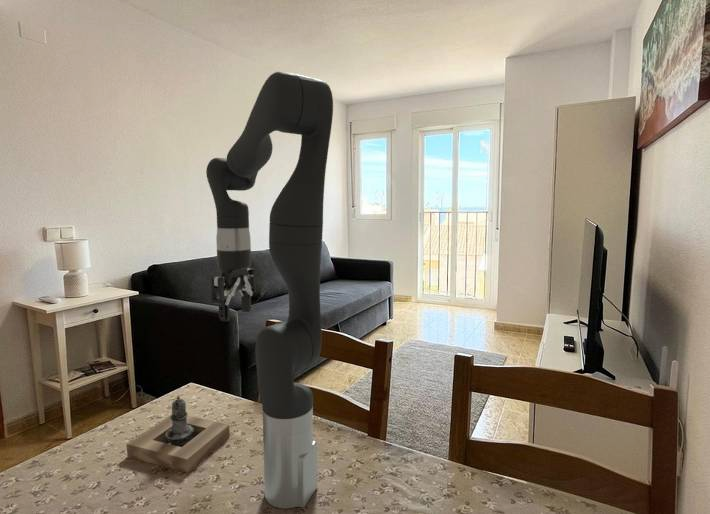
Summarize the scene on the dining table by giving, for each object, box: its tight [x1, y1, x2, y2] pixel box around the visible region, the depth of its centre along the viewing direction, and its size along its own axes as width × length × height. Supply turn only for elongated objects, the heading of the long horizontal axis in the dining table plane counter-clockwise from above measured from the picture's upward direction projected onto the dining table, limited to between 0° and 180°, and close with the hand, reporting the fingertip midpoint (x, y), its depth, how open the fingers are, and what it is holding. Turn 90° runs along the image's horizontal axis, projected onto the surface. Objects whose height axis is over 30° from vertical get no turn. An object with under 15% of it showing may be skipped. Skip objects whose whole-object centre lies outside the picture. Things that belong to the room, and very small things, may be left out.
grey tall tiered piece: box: [166, 395, 194, 447], centre depth 93 cm, size 6×6×12 cm
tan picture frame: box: [126, 414, 231, 474], centre depth 93 cm, size 16×14×3 cm
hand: (236, 315), depth 97 cm, fingers open, 8 cm apart
